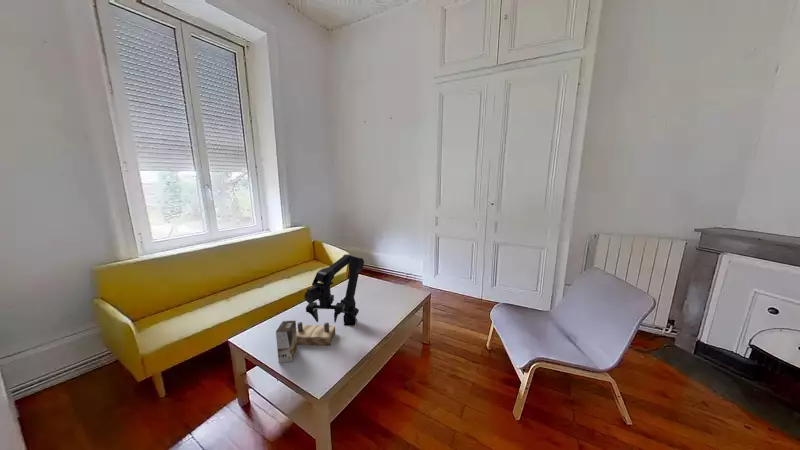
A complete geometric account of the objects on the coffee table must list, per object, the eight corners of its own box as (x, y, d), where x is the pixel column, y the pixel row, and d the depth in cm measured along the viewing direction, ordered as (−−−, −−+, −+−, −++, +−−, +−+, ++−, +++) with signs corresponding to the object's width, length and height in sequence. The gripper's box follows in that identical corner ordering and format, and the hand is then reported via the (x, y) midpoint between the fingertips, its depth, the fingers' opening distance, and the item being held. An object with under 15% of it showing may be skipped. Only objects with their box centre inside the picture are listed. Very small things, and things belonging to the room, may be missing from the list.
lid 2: (334, 327, 144) (334, 318, 143) (329, 338, 134) (329, 329, 133) (317, 326, 144) (316, 318, 143) (310, 338, 135) (309, 329, 134)
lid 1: (316, 326, 144) (316, 318, 143) (310, 338, 135) (309, 329, 134) (298, 326, 145) (298, 317, 144) (291, 337, 135) (290, 328, 134)
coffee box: (292, 362, 124) (289, 331, 120) (278, 362, 123) (275, 332, 120) (298, 349, 133) (295, 320, 129) (284, 349, 132) (282, 320, 129)
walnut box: (335, 333, 145) (335, 327, 144) (330, 345, 135) (329, 338, 134) (299, 332, 145) (298, 326, 145) (291, 344, 136) (290, 337, 135)
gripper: (346, 287, 143) (347, 314, 146) (312, 287, 143) (314, 313, 146) (341, 297, 132) (342, 326, 135) (304, 297, 132) (306, 325, 135)
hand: (326, 322), depth 138 cm, fingers open, 9 cm apart
